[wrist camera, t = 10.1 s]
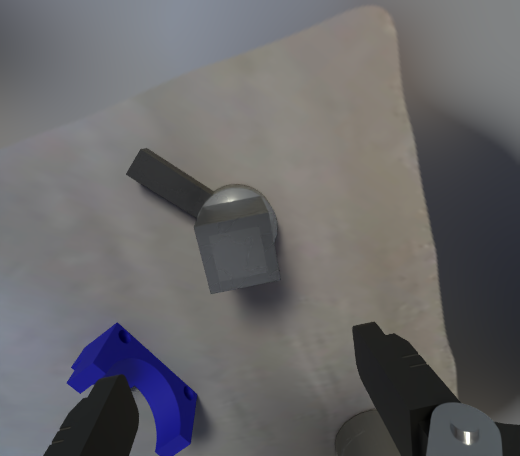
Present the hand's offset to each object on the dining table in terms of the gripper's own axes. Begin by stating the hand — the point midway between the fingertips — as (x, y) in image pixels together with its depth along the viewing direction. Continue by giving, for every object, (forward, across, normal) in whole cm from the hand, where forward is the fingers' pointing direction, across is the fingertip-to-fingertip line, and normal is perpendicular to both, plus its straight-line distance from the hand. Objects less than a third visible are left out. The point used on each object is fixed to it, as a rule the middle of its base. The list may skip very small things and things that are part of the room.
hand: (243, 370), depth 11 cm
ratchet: (+19, +2, -3) cm, 20 cm away
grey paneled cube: (+17, 0, 0) cm, 17 cm away
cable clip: (+20, +13, +14) cm, 28 cm away
